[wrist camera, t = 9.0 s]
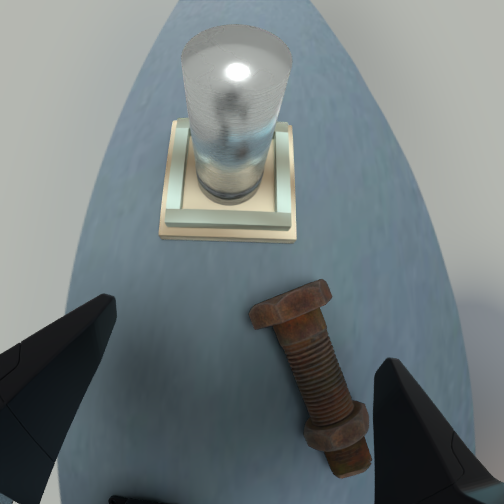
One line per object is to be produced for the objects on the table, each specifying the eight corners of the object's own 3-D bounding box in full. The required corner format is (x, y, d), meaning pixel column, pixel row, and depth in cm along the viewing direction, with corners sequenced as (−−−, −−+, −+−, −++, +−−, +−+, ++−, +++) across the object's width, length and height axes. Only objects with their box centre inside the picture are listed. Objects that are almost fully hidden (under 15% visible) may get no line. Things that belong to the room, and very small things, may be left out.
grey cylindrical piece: (269, 196, 24) (310, 85, 12) (206, 213, 23) (192, 105, 11) (250, 142, 25) (271, 19, 13) (191, 157, 24) (172, 33, 12)
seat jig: (293, 243, 24) (300, 235, 22) (161, 239, 24) (155, 230, 21) (289, 133, 27) (294, 117, 24) (174, 128, 26) (171, 112, 24)
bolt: (329, 455, 23) (267, 298, 25) (385, 441, 21) (327, 275, 23) (314, 496, 17) (236, 312, 20) (382, 484, 16) (312, 283, 18)
